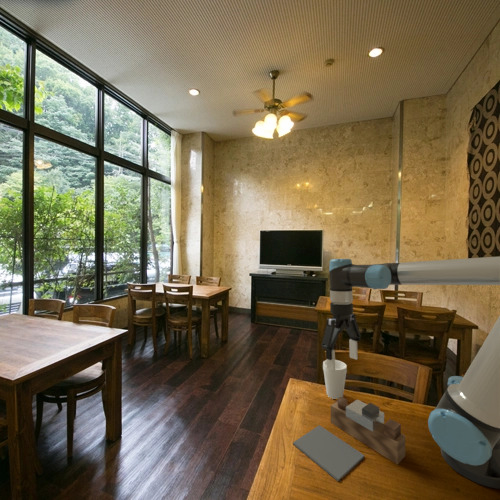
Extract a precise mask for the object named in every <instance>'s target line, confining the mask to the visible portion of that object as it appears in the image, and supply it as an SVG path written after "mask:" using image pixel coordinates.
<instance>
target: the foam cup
mask: <svg viewBox="0 0 500 500" xmlns="http://www.w3.org/2000/svg"><path fill="white" fill-rule="evenodd" d="M347 366H348V365H347V364H346V363H345V362H343V361H341V360H338V359H335V370H332V369H329V368H327V359H326V360H323V362H322V370H323V375H324V383H325V384H324V385H325V389H326V390H325V391H326V396H327V395H328V396H327V397H328V398H329V397H330V398H329V399H331V398H332V399H331V400H333V399H338V398H339V397H343V398H344V391H345V385H346V377H347V376H346V375H347V373H348V371H347V369H348V368H347Z"/></svg>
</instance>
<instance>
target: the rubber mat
mask: <svg viewBox="0 0 500 500" xmlns="http://www.w3.org/2000/svg"><path fill="white" fill-rule="evenodd" d="M292 445H293V446H294V447H296V448H297V449H298V450H299V451H300V452H302V454H304V455H305V456H307V458H309V459H310V460H311V461H312V462H314V463H315V465H317V466H319V467H320V468H321V469H322V470H323V471H325V472H326V473H327V474H328V475H329V476H331V478H333V479H334V480H335V481H337V482H338V481H339V482H340V481H341V480H342V479H343V478H344V477H345V476H347V474H349V473H350V472H351V471H352V470H353V469H354V468H355V467H356V466H357V465H358V464H359V463H360V462H361V461H362V460H364V458H365V454H363V453H362V452H360V451H359V450H357V449H355V448H354V447H352V446H351V445H350V444H349V443H347V442H345V441H344V440H342V439H341V438H339V437H338V436H336V435H335V434H333V433H332V432H331V431H329V430H327V429H326V428H324V427H323V426H321V425H320V424H319V425H317V426H316V427H315V428H312V430H310V431H308V432H306V433H305V434H304V435H302V436H301V437H299V438H297V439H295V440H294V441H293V442H292ZM342 477H343V478H342ZM341 478H342V479H341ZM340 479H341V480H340Z"/></svg>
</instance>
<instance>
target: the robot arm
mask: <svg viewBox="0 0 500 500" xmlns="http://www.w3.org/2000/svg"><path fill="white" fill-rule="evenodd" d="M328 268H329V270H328V273H329V292H330V293H329V300H330V304H329V306H330V307H329V310H330V313H331V314H332V318H326V327H325V331H324V335H323V338H322V342H321V346H320V347H321V349H325V358H326V360H327V368H329V369H332V370H335V360H336V354H335V353H336V350H335V349H334V348H335V345H336V343H337V340H338V337H339V335H340V333H342V331H344V330H345V331H346V333H347V334H348V337H349V338H350V339H349V340H348V343H349V344H348V345H349V349H348V350H349V358H350V359H354V360H358V358H359V357H358V355H359V354H358V342H361V337H362V333H361V332H360V328H359V325H358V322H357V317H356V314H355V313H354V305H353V302H354V298H353V297H354V296H353V287H355V288H365V289H373V290H385V289H388V288H389V286H395V285H396V286H401V285H404V286H406V285H408V286H409V285H410V286H411V285H412V286H414V285H415V286H420V285H421V286H426V285H427V286H438V285H439V286H500V256H490V257H489V256H487V257H471V258H470V257H469V258H467V257H466V258H456V259H455V258H454V259H438V260H437V259H436V260H421V261H419V260H418V261H406V262H385V263H376V264H375V263H374V264H373V263H372V264H353V262H352V259H351V258H332V259H330V261H329V267H328ZM446 384H447V388H446V390H445V392H444V393H443V395H442V397H441V398H440V400H439V402H438V404H437V406H436V407H434V410H431V411H430V413H429V416H428V419H427V424H428V425H427V426H428V430H429V432H430V434H431V437H432V439H433V440H434V442H436V444H437V446H439V448H440V454H441V457H442V458H443V459H444V461H445V462H446V463H447V464H448V465H449V466H450V467H451V468H452V469H453V470H454V471H456V473H458V474H460V475H462V476H463V477H464V478H466V479H468V480H470V481H471V482H474V483H476V484H478V485H481V486H484V487H488V488H492V489H496V490H497V489H498V490H499V489H500V315H499V316H498V318H497V320H496V321H495V323H494V325H493V327H492V328H491V329H490V331H489V333H488V335H487V336H486V338H485V340H484V341H483V343H482V346H481V347H480V348H479V350H478V352H477V353H476V355H475V357H474V358H473V360H472V362H471V364H470V365H469V367H468V368H467V370H466V372H465V374H464V376H461V375H460V376H459V375H453V376H449V377H448V380H447V383H446Z"/></svg>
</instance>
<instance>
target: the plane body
mask: <svg viewBox="0 0 500 500" xmlns="http://www.w3.org/2000/svg"><path fill="white" fill-rule="evenodd" d="M348 405H349V404H348V399H347V398H345V397H344V396H343V397H339V398H338V400H336V401H335V402H334V403H332V404H330V423H331V424H332V425H334V426H335V427H336V428H338V429H340V430H342V431H343V432H345V433H347V434H348V435H350V436H352V437H353V438H354V439H356V440H357V441H360V442H361V443H363V444H364V445H366V446H367V447H369V448H370V449H372V450H374V451H375V452H377V453H378V454H380V455H381V456H383V457H384V458H385V459H388V460H390V461H391V462H392V463H394V464H396V465H399V464H400V463H401V462H402V461H403V460H404V458H405V457H406V435H405V434H403V433H402V431H401V430H402V428H401V427H402V424H401V423H399V422H398V421H396V420H393V419H391V418H389V419H388V420H387V421H386V422H384V423H383V424H381V425H380V426H379V427H378V428H377V429H376V430H374V431H373V432H372V431H371V430H369V429H367V428H366V427H364V426H362V425H360V424H359V423H357V422H355V421H353V420H352V419H350V418H348V417H346V407H347V406H348Z"/></svg>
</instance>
